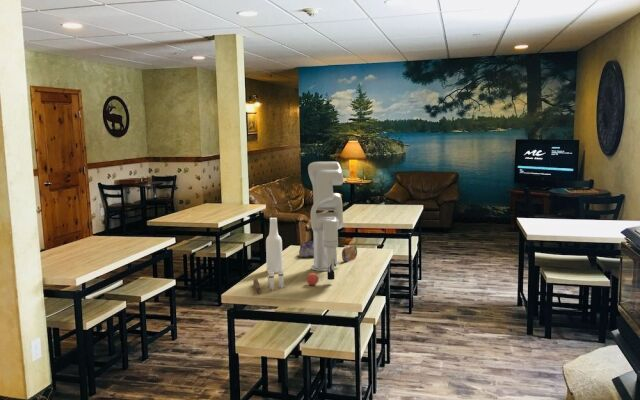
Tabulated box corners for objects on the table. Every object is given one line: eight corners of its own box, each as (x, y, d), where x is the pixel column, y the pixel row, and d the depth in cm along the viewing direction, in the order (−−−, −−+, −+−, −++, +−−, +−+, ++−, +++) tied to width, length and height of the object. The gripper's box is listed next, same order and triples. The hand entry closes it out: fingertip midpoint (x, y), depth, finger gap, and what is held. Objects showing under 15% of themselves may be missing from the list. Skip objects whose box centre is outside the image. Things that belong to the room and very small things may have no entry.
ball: (317, 282, 273) (316, 271, 273) (319, 286, 268) (319, 274, 267) (305, 283, 272) (305, 272, 271) (307, 286, 266) (307, 275, 266)
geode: (305, 250, 347) (307, 235, 345) (322, 254, 344) (324, 239, 342) (295, 256, 327) (297, 241, 326) (313, 260, 324) (315, 244, 323)
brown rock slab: (345, 263, 313) (345, 249, 312) (340, 262, 315) (340, 248, 314) (357, 257, 326) (357, 244, 325) (353, 257, 328) (353, 243, 326)
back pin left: (274, 288, 264) (273, 271, 263) (274, 290, 262) (274, 273, 261) (269, 288, 264) (268, 272, 263) (269, 290, 262) (269, 273, 260)
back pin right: (272, 285, 269) (272, 269, 268) (273, 287, 267) (272, 270, 266) (267, 286, 269) (267, 269, 268) (268, 287, 266) (267, 270, 265)
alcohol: (280, 273, 292) (278, 219, 288) (264, 273, 293) (263, 219, 289) (284, 269, 300) (283, 216, 296) (269, 269, 302) (267, 216, 298)
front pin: (283, 286, 268) (282, 269, 267) (284, 287, 266) (283, 271, 264) (278, 286, 267) (277, 270, 266) (279, 288, 265) (278, 271, 264)
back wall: (257, 284, 272) (257, 278, 271) (260, 293, 256) (260, 287, 256) (253, 284, 271) (253, 279, 271) (256, 294, 256) (256, 288, 256)
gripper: (319, 241, 276) (320, 276, 278) (326, 246, 261) (327, 283, 263) (334, 240, 277) (334, 275, 279) (341, 246, 263) (341, 282, 265)
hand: (330, 279), depth 271 cm, fingers closed
